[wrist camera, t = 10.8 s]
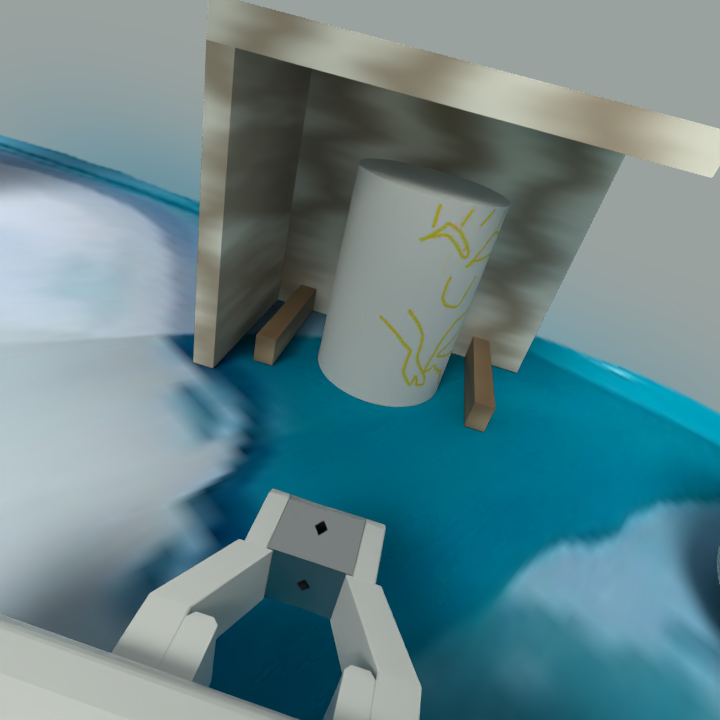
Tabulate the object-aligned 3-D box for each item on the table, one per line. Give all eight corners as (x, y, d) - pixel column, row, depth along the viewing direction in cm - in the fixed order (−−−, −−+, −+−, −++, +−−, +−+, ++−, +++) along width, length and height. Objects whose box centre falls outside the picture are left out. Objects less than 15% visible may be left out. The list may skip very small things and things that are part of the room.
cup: (382, 423, 25) (453, 209, 19) (292, 350, 30) (327, 154, 23) (460, 383, 31) (536, 205, 25) (376, 326, 35) (422, 162, 29)
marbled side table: (193, 362, 26) (208, -8, 17) (270, 288, 36) (304, 32, 27) (534, 470, 25) (738, 134, 16) (515, 362, 35) (633, 120, 26)
